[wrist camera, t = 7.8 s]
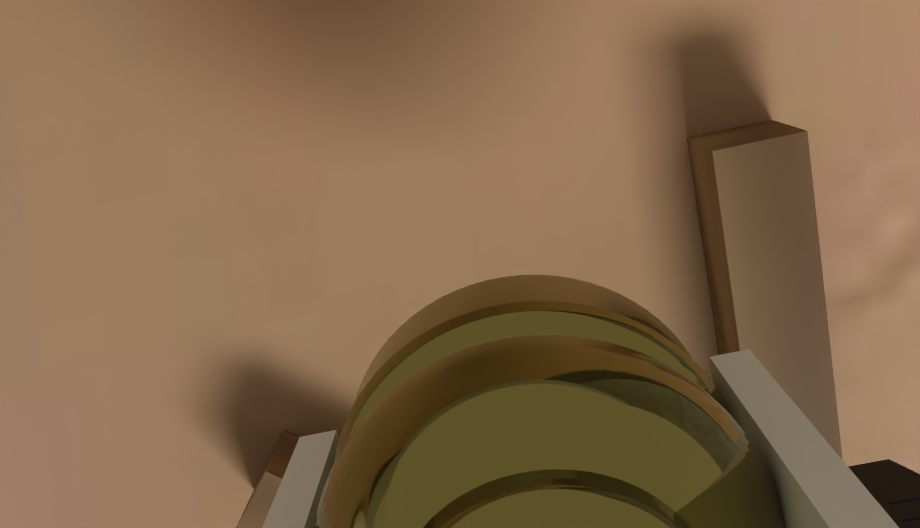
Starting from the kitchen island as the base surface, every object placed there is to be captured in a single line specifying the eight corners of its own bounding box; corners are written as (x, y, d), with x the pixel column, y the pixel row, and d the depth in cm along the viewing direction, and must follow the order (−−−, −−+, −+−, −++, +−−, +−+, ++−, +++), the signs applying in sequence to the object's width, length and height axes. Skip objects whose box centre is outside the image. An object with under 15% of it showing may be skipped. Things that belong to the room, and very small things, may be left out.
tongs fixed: (682, 708, 29) (701, 770, 27) (582, 161, 24) (595, 176, 21) (838, 681, 29) (872, 741, 26) (772, 119, 23) (807, 130, 21)
